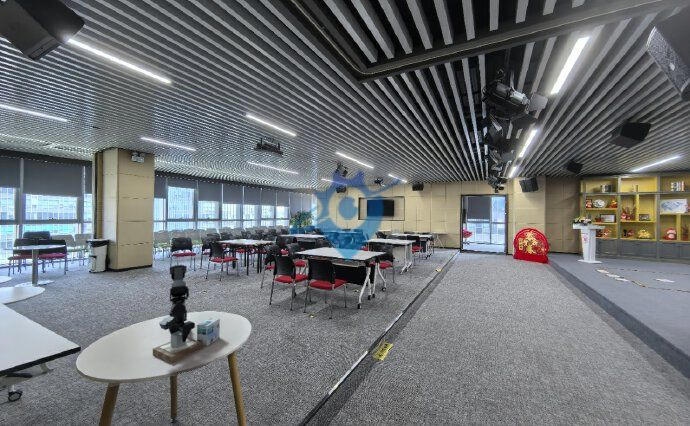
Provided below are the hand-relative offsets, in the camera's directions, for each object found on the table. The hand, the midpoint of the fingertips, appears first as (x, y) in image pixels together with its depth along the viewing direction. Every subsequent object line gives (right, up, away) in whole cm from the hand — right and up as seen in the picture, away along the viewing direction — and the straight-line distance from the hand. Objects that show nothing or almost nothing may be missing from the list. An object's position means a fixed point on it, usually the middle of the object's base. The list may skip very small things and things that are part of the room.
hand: (178, 339), depth 142 cm
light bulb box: (+10, -6, +12) cm, 17 cm away
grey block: (0, -3, 0) cm, 3 cm away
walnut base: (0, -6, 0) cm, 6 cm away
